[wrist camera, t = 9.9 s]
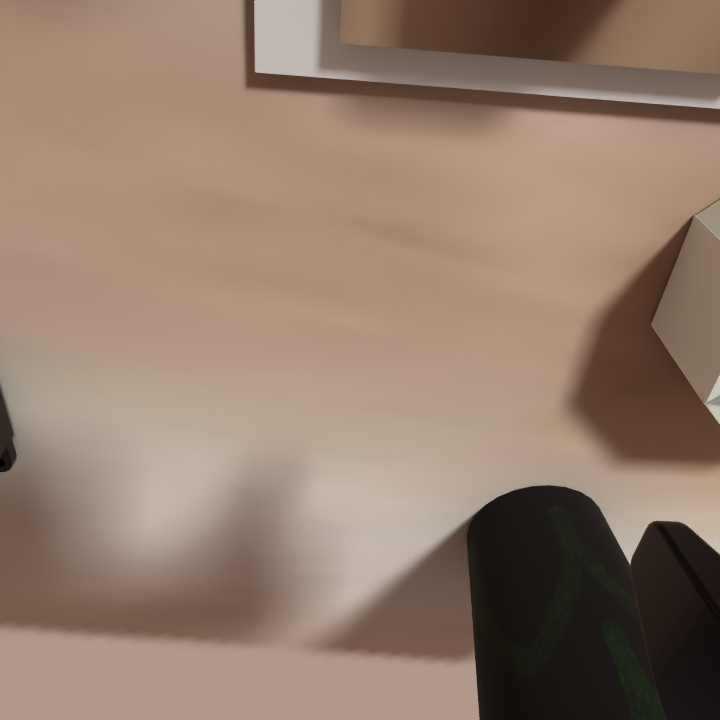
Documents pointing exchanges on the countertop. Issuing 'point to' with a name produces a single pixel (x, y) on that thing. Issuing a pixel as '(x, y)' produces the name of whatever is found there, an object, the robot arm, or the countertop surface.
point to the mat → (453, 63)
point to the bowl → (695, 308)
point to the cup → (555, 613)
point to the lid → (546, 30)
